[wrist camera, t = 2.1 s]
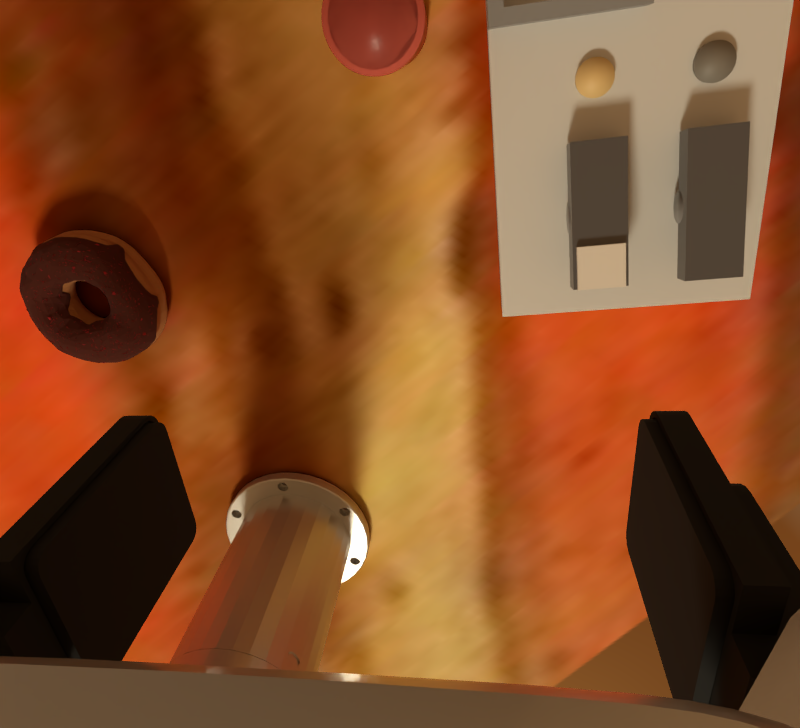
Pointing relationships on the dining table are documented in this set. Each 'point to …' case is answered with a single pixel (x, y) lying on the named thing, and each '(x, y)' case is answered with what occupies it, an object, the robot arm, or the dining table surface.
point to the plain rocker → (712, 201)
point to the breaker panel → (623, 130)
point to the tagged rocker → (598, 213)
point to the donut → (110, 272)
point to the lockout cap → (374, 33)
